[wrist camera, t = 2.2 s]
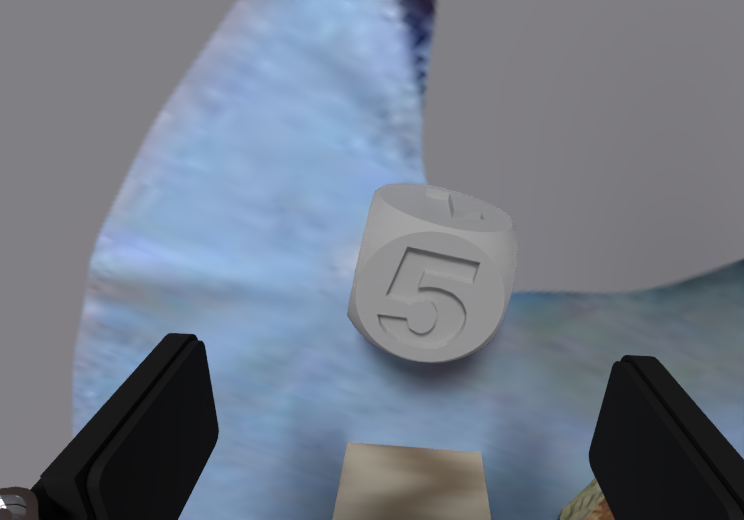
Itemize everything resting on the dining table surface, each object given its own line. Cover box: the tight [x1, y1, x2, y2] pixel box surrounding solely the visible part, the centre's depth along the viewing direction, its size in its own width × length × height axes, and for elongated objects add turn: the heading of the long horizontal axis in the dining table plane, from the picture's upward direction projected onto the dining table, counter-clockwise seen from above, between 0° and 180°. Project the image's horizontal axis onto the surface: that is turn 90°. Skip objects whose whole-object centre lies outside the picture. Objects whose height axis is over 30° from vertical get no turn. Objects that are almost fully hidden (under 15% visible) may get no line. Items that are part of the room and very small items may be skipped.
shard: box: [560, 478, 615, 520], centre depth 23 cm, size 11×8×2 cm
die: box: [347, 183, 518, 363], centre depth 16 cm, size 5×5×5 cm
